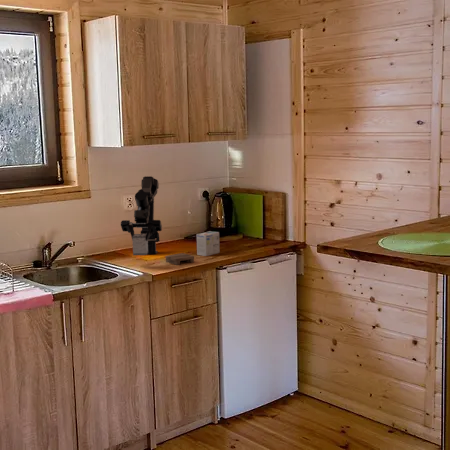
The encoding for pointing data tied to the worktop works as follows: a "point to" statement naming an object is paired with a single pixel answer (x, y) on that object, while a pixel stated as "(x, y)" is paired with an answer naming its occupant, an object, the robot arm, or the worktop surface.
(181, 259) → the walnut stand
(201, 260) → the worktop surface
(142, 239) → the block
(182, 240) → the worktop surface
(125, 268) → the worktop surface
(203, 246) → the light bulb box
